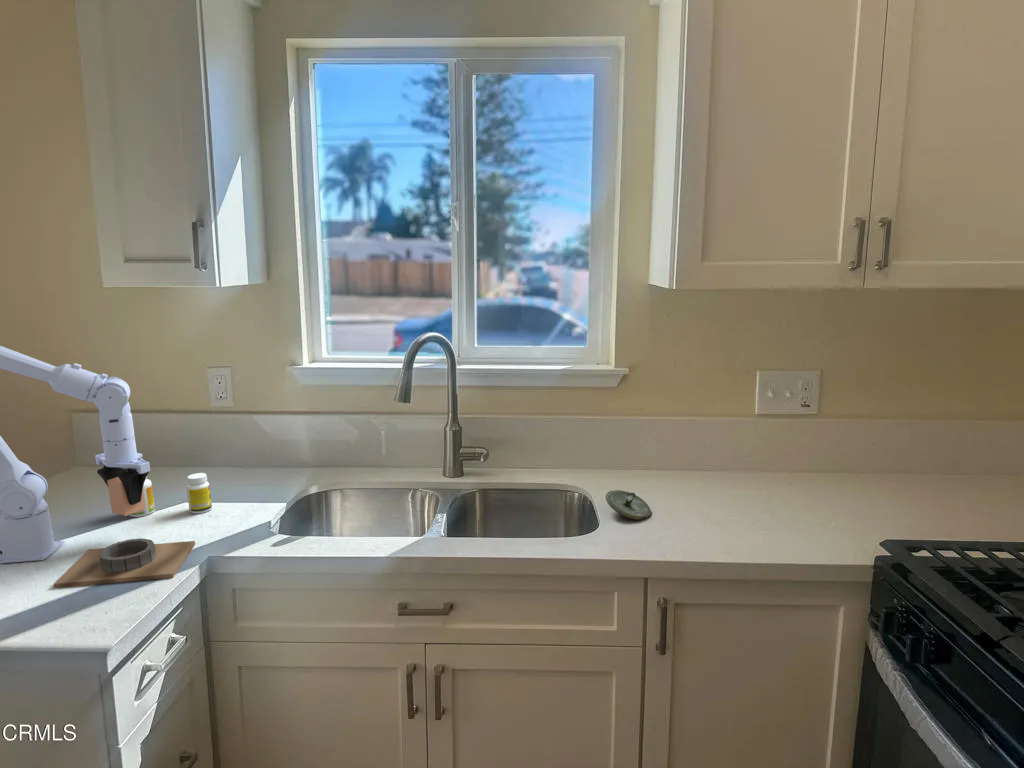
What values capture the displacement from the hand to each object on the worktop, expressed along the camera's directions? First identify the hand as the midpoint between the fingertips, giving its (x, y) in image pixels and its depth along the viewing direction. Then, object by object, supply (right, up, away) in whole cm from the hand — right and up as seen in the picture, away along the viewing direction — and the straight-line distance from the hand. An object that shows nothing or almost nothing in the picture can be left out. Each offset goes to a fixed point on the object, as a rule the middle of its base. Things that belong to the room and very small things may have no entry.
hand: (127, 501), depth 139 cm
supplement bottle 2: (+8, -5, +16) cm, 18 cm away
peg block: (0, -2, 0) cm, 2 cm away
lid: (+106, -5, +11) cm, 106 cm away
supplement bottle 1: (-5, -6, +15) cm, 17 cm away
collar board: (+6, -10, -10) cm, 16 cm away
